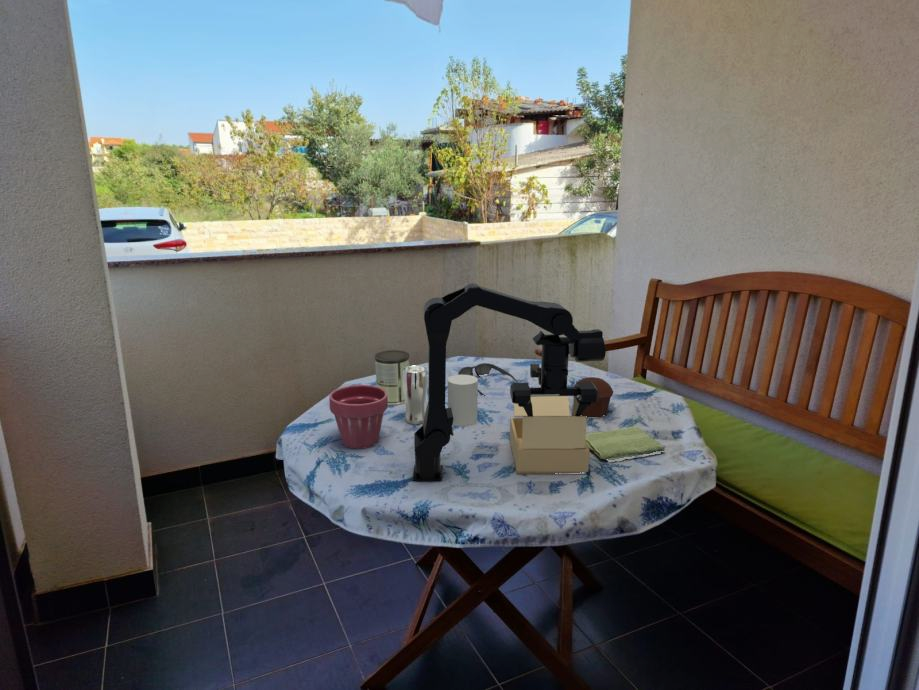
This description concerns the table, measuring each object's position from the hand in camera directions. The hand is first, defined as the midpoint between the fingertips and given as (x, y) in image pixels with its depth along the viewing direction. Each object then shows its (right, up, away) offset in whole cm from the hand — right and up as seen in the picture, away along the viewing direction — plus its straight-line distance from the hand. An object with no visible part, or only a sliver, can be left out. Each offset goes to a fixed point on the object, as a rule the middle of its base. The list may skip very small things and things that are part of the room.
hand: (552, 427), depth 125 cm
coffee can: (-41, +2, +44) cm, 60 cm away
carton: (0, -8, +8) cm, 12 cm away
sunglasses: (-12, +5, +56) cm, 58 cm away
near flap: (0, -1, -2) cm, 2 cm away
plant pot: (-46, -6, +16) cm, 49 cm away
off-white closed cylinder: (-20, -2, +29) cm, 35 cm away
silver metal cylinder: (-33, -2, +29) cm, 44 cm away
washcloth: (+19, -8, +13) cm, 24 cm away
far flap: (0, +4, +17) cm, 17 cm away
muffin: (+17, -1, +35) cm, 38 cm away
